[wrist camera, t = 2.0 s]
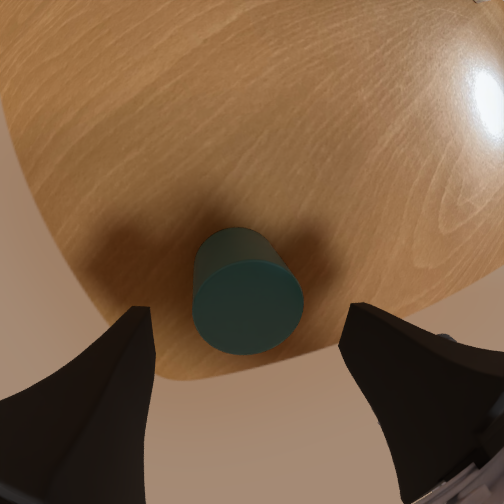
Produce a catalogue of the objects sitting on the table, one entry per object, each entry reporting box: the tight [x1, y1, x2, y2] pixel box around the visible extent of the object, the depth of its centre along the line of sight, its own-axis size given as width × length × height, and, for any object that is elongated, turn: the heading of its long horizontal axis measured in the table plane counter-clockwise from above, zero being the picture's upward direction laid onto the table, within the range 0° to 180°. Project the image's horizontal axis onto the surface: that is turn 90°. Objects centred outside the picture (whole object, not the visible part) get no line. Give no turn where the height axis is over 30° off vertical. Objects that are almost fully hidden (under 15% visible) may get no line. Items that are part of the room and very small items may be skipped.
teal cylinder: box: [192, 227, 304, 355], centre depth 12 cm, size 4×4×4 cm
